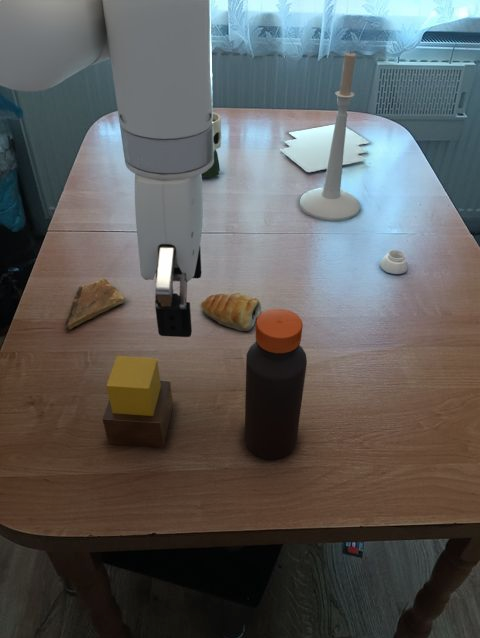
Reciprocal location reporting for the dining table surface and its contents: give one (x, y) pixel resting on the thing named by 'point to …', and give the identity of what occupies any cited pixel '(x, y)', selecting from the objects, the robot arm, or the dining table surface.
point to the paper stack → (321, 147)
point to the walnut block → (141, 423)
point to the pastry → (233, 310)
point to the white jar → (394, 262)
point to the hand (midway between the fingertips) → (181, 303)
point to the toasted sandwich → (93, 302)
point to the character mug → (215, 147)
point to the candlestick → (335, 162)
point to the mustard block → (134, 385)
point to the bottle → (274, 384)
